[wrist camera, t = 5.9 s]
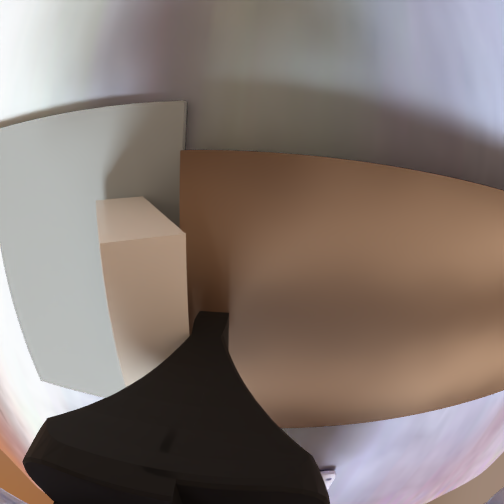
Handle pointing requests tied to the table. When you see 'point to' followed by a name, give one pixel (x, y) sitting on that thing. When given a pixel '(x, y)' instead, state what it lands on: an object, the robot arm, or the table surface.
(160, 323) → the tile
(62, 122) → the mat
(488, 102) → the table surface
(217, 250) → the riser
